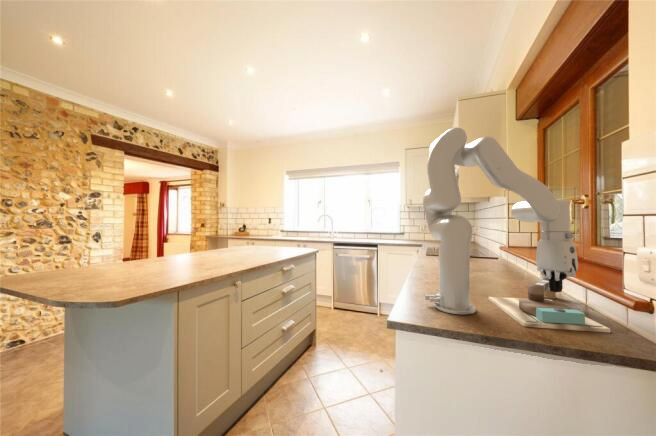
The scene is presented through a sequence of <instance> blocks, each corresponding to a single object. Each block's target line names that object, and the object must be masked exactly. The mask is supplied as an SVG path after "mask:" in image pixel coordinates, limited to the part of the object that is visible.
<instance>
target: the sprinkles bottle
mask: <svg viewBox="0 0 656 436" xmlns="http://www.w3.org/2000/svg"><path fill="white" fill-rule="evenodd" d="M539 275H540V282H541V281H543V278H547V276H546V275H545V274H544V273H542V272H540V274H539ZM545 298H546V299H548V300H553V299H556V298H557V296H556V292H551V291H550V289H548V290H546V291H545V292H544V299H545Z"/></svg>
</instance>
